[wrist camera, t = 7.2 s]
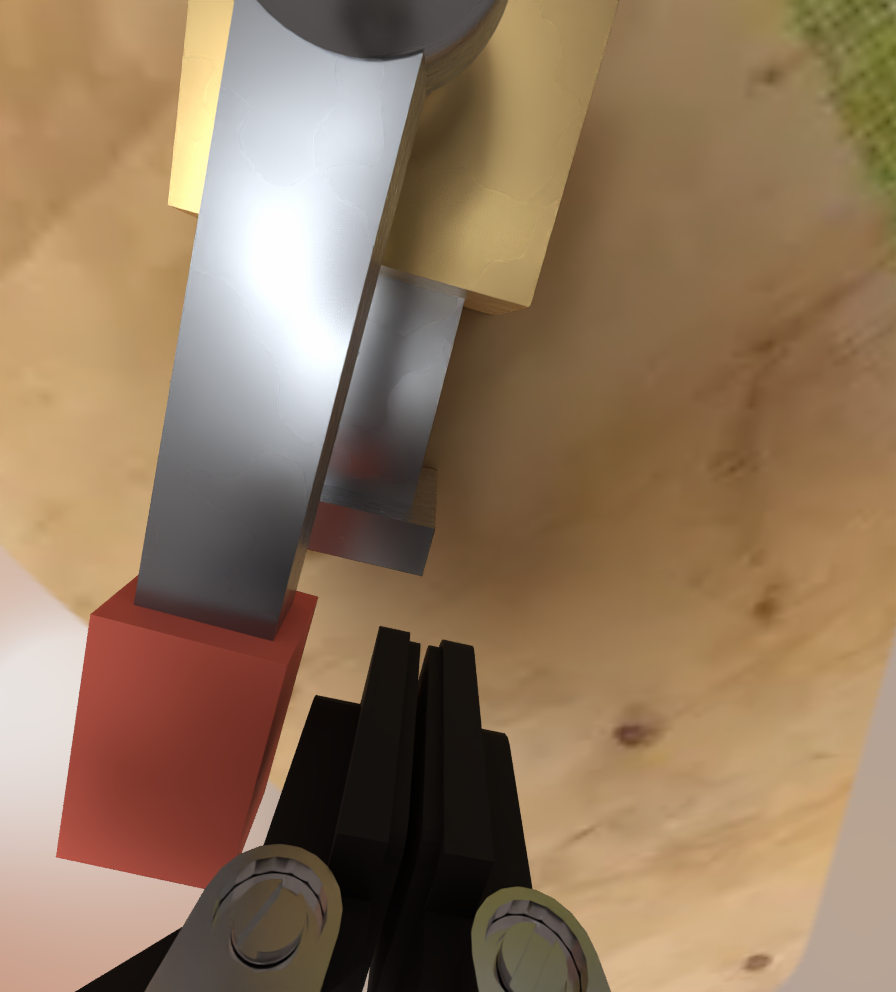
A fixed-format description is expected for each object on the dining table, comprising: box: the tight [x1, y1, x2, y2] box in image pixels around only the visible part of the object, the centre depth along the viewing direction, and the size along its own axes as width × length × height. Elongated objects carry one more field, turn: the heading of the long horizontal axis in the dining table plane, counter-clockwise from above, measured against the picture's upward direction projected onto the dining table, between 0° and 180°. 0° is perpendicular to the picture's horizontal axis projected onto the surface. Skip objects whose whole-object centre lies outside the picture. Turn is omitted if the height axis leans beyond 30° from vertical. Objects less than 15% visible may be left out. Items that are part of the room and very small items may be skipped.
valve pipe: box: [168, 0, 619, 576], centre depth 10 cm, size 18×6×9 cm, turn 165°
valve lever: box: [56, 0, 508, 889], centre depth 7 cm, size 14×3×2 cm, turn 162°
